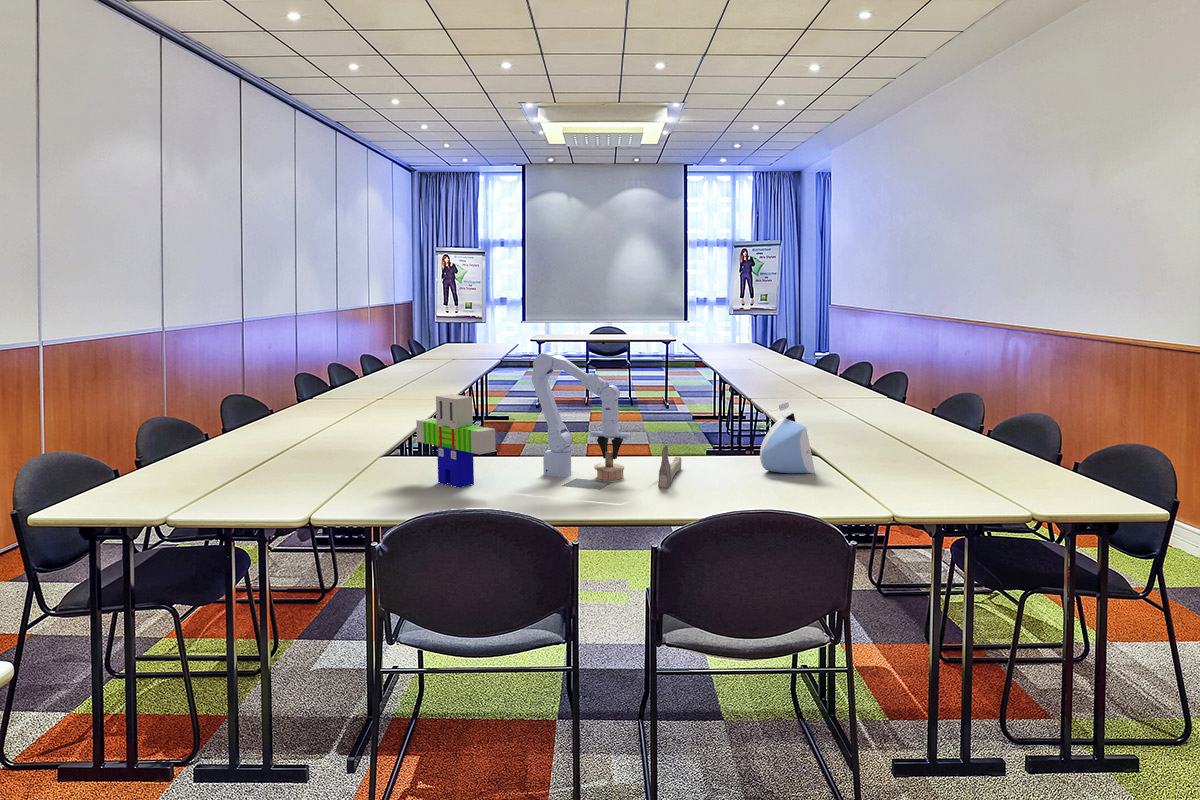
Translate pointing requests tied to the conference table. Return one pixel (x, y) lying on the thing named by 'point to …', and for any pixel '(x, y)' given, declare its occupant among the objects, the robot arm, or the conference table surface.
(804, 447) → the retro desktop computer
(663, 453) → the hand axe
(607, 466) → the lid
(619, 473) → the bowl
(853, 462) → the conference table surface
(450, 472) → the toy
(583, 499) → the conference table surface
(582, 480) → the mat
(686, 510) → the conference table surface
